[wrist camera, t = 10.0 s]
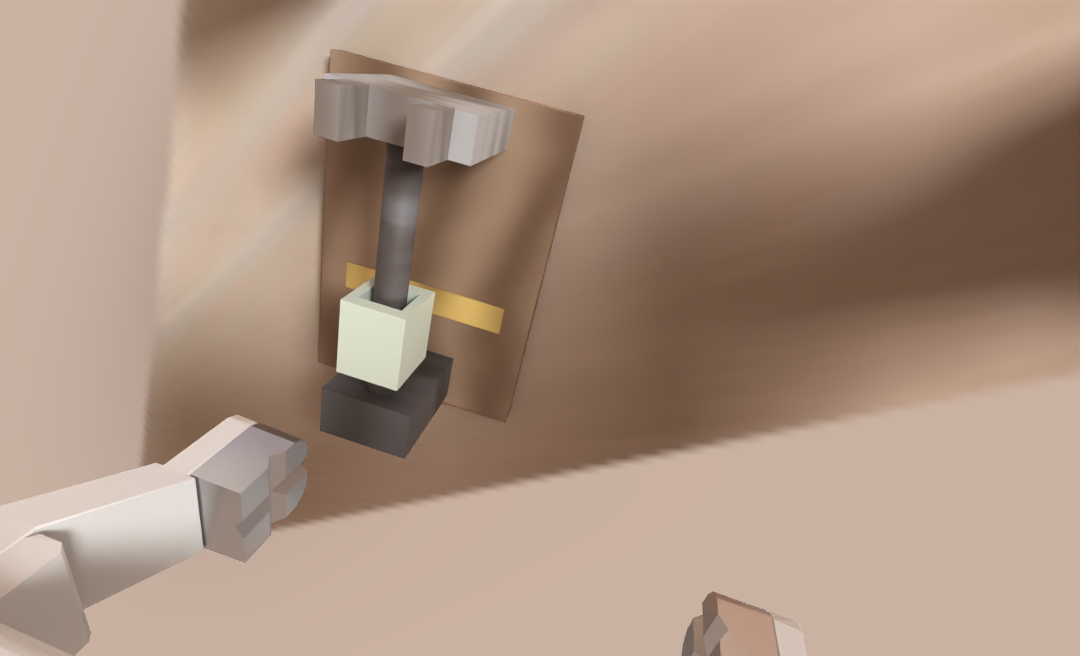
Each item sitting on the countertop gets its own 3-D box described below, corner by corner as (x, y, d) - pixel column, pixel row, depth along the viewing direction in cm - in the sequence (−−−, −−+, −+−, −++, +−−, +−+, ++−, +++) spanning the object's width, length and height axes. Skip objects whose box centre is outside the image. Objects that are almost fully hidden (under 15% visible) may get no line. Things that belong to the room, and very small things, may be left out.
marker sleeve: (435, 292, 33) (405, 320, 30) (425, 357, 36) (396, 391, 32) (377, 274, 34) (340, 299, 30) (371, 340, 36) (336, 371, 32)
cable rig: (584, 115, 32) (551, 131, 22) (509, 413, 42) (464, 513, 33) (340, 50, 33) (208, 37, 23) (326, 355, 44) (230, 434, 34)
